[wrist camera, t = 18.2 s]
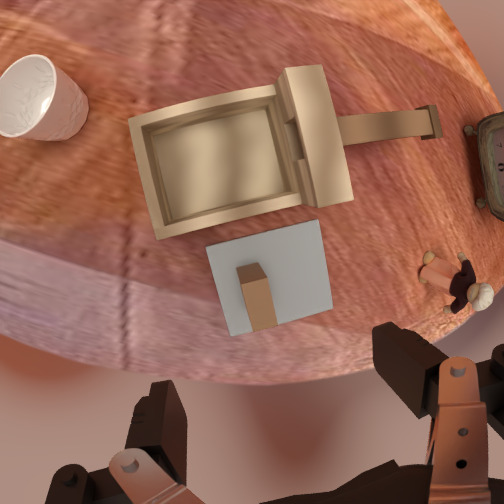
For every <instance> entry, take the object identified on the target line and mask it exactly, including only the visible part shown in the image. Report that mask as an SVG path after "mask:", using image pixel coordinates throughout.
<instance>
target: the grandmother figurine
mask: <svg viewBox="0 0 504 504" xmlns="http://www.w3.org/2000/svg"><path fill="white" fill-rule="evenodd" d="M457 257H458V259H459V260H460V262H461V264H462V268H461V271H460V270H459V269H458V268H457V267H455V266H454V265H452V264H450V263H448V262H447V261H445V260H442V259H440V258H438V257H436V255H434V254H433V253H432V252H431V251H428V252H426V253H425V255H424V258H423V262H424V264H425V265H426V266H424V267H423V268H422V270H421V272H420V275H419V281H420V282H421V283H429V284H430V285H431V286H433V287H434V288H436V289H438V290H439V291H441V292H444V293H445V294H447V295H450V296H454V297H456V299H455V300H454V301H453V302H452V304H451V305H446V306H444V308H443V311H444V312H445V313H449V312H450V313H454V314H456V313H457V312H459V311H460V310H461V309H463V308H464V307H465V305H466V304H467V303H468V301H469V302H470V303H471V304H472V308H473V309H474V310H475V311H480V310H484V309H486V308H487V307H488V306H489V305H490V304H491V303H492V301H493V295H494V291H493V289H492V288H491V286H490V285H489V284H487V283H484V282H482V283H476V276H475V273H474V270H473V268H472V265H471V263H470V261H469V260H468V259H467V257H466V256H465V255H464V253H462V252H460V253H458V255H457Z"/></svg>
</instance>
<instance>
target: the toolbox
mask: <svg viewBox="0 0 504 504" xmlns="http://www.w3.org/2000/svg"><path fill="white" fill-rule="evenodd" d="M128 123H129V128H130V133H131V138H132V143H133V147H134V152H135V156H136V161H137V165H138V170H139V174H140V178H141V182H142V186H143V190H144V194H145V198H146V202H147V206H148V210H149V214H150V218H151V221H152V225H153V229H154V232H155V236H156V240H160V239H164V238H168V237H172V236H175V235H179V234H183V233H187V232H190V231H194V230H198V229H202V228H206V227H210V226H214V225H218V224H221V223H225V222H229V221H233V220H237V219H241V218H245V217H249V216H254V215H258V214H262V213H266V212H270V211H274V210H278V209H283V208H287V207H291V206H295V205H300V204H305V205H309V206H313V207H317V208H320V207H324V206H329V205H333V204H337V203H342V202H346V201H350V200H354V198H353V193H352V187H351V182H350V177H349V172H348V167H347V162H346V158H345V153H344V148H343V144H342V140H341V135H340V131H339V127H338V123H337V119H336V115H335V111H334V107H333V103H332V99H331V95H330V92H329V88H328V85H327V81H326V77H325V74H324V71H323V67H322V64H321V65H309V66H299V67H290V68H285V69H284V70H283V72H282V73H281V75H280V76H279V78H278V79H277V81H276V82H275V84H274V85H267V86H261V87H255V88H249V89H244V90H238V91H233V92H228V93H223V94H218V95H214V96H209V97H205V98H201V99H196V100H192V101H188V102H184V103H180V104H177V105H173V106H169V107H166V108H162V109H159V110H155V111H152V112H148V113H145V114H142V115H139V116H135V117H132V118H129V119H128Z"/></svg>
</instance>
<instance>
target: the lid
mask: <svg viewBox="0 0 504 504" xmlns="http://www.w3.org/2000/svg"><path fill="white" fill-rule="evenodd" d="M206 251H207V255H208V258H209V262H210V266H211V269H212V273H213V277H214V280H215V284H216V288H217V291H218V295H219V298H220V302H221V305H222V309H223V312H224V316H225V319H226V323H227V326H228V329H229V333H230V336H231V337H233V336H237V335H241V334H245V333H248V332H252V331H253V332H255V331H259V330H263V329H267V328H270V327H274V326H278V324H282V323H286V322H289V321H293V320H296V319H300V318H303V317H307V316H310V315H313V314H317V313H320V312H323V311H327V310H330V309H333V303H332V296H331V290H330V283H329V277H328V271H327V265H326V259H325V253H324V247H323V241H322V236H321V230H320V225H319V220H318V219H314V220H310V221H305V222H301V223H297V224H293V225H289V226H285V227H281V228H277V229H273V230H269V231H265V232H261V233H257V234H253V235H248V236H244V237H241V238H237V239H233V240H229V241H225V242H221V243H217V244H213V245H209V246H206Z"/></svg>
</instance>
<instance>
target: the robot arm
mask: <svg viewBox="0 0 504 504" xmlns="http://www.w3.org/2000/svg"><path fill="white" fill-rule="evenodd" d="M372 342H373V363H374V366H375V369H376V371H377V372H378V374H379V375H380V376H381V377H382V378H383V379H384V380H385V381H386V383H387V384H388V385H389V386H390V387H391V388H392V389H393V390H394V392H395V393H396V394H397V395H398V396H399V397H400V399H402V401H403V402H404V403H405V404H406V405H407V406H408V408H409V409H410V410H411V411H412V412H413V413H414V414H415V415H416V417H417V418H418V419H420V418H422V417H424V416H426V415H428V414H429V415H430V416H431V417H432V418H431V423H430V431H429V439H428V446H427V453H426V459H425V464H414V465H404V466H400V467H399V466H398V465H397V463H396V462H395V460H391V461H389V462H386V463H384V464H382V465H379V466H377V467H375V468H372V469H370V470H368V471H365V472H363V473H361V474H360V475H358V476H357V477H355V478H353V479H352V480H351V481H349V482H347V483H345V484H344V485H342V486H340V487H339V488H337V489H336V490H333V491H330V492H323V493H313V494H304V495H303V494H302V495H293V496H289V497H285V498H281V499H277V500H273V501H268V502H263V503H259V504H504V480H501V479H495V478H489V477H488V429H487V423H488V424H489V425H490V426H491V427H492V428H493V429H494V430H495V431H496V432H497V433H498V434H499V435H500V436H501V437H502V439H503V440H504V344H500V345H498V346H496V347H495V348H494V350H493V352H492V356H491V359H490V360H486V361H483V362H479V363H474V362H473V361H472V360H470V359H468V358H466V357H452V358H449V357H448V356H447V355H445V354H444V353H442V352H441V351H440V350H439V349H437V348H436V347H435V346H433V345H432V344H429V342H428V341H427V340H425V339H423V337H421V336H420V335H419V334H417V333H416V332H414V331H411V330H408V329H405V328H404V329H400V328H399V327H398V326H396V325H395V324H394V323H393V322H387V323H384V324H382V325H379V326H376V327H374V328H373V330H372ZM186 460H187V417H186V413H185V410H184V408H183V405H182V403H181V400H180V398H179V396H178V393H177V391H176V388H175V386H174V384H173V382H172V380H166V381H160V382H154V383H152V384H151V388H150V393H149V396H145V397H142V398H141V399H140V400H139V402H138V403H137V404H136V405H135V408H134V412H133V417H132V420H131V424H130V428H129V432H128V436H127V440H126V445H125V449H124V450H122V451H120V452H119V453H117V454H116V455H115V456H114V457H113V458H112V459H111V461H110V463H109V467H107V468H104V469H101V470H97V471H93V472H89V473H88V472H87V471H86V469H85V468H84V467H82V466H80V465H78V464H69V465H66V466H63V467H61V468H60V469H59V470H58V471H57V472H56V473H55V474H54V476H53V479H52V482H51V485H50V488H49V492H48V495H47V498H46V501H45V504H205V503H204V502H203V501H201V500H200V499H199V498H198V497H197V496H195V495H194V494H193V493H192V492H191V491H190V490H189V489H187V488H186V470H187V469H186V468H187V461H186Z"/></svg>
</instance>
